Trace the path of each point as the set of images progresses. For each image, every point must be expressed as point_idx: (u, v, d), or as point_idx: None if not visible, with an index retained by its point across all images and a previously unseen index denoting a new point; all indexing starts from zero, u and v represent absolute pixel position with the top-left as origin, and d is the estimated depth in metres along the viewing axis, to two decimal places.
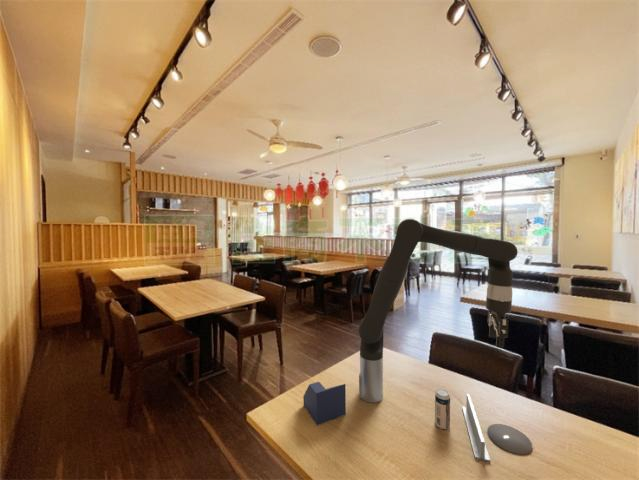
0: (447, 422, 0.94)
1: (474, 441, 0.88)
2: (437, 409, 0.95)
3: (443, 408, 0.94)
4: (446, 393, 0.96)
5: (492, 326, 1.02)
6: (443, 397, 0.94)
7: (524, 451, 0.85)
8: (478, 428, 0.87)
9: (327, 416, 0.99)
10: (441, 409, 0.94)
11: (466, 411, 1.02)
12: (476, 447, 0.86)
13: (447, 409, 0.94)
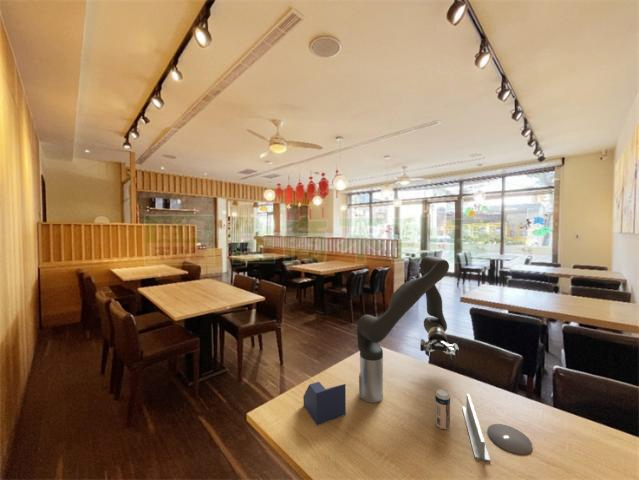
0: (447, 422, 0.94)
1: (474, 441, 0.88)
2: (437, 409, 0.95)
3: (443, 408, 0.94)
4: (446, 393, 0.96)
5: None
6: (442, 397, 0.94)
7: (524, 451, 0.85)
8: (478, 428, 0.87)
9: (327, 416, 0.99)
10: (441, 409, 0.94)
11: (466, 411, 1.02)
12: (476, 447, 0.86)
13: (447, 409, 0.94)
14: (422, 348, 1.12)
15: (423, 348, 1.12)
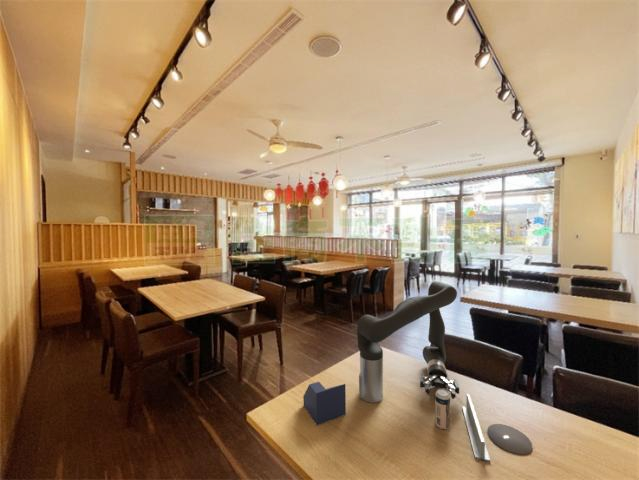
0: (447, 422, 0.94)
1: (474, 441, 0.88)
2: (437, 409, 0.95)
3: (443, 408, 0.94)
4: (446, 393, 0.96)
5: None
6: (442, 397, 0.94)
7: (524, 451, 0.85)
8: (478, 428, 0.87)
9: (327, 416, 0.99)
10: (441, 409, 0.94)
11: (466, 411, 1.02)
12: (476, 447, 0.86)
13: (447, 409, 0.94)
14: (422, 385, 1.10)
15: (423, 385, 1.09)
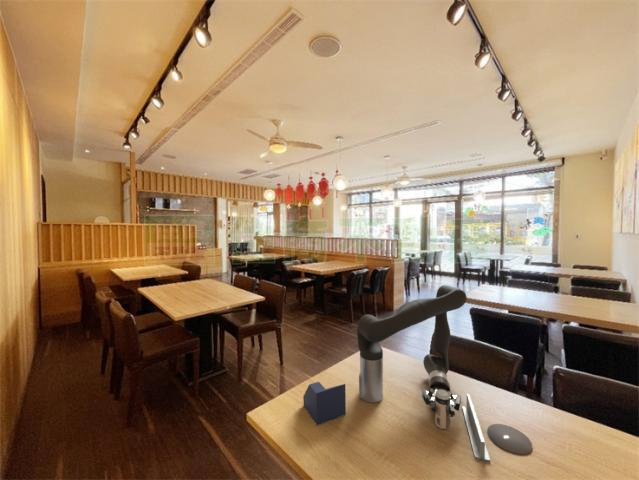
0: (447, 422, 0.94)
1: (474, 441, 0.88)
2: (437, 409, 0.95)
3: (443, 408, 0.94)
4: (446, 393, 0.96)
5: None
6: (442, 397, 0.94)
7: (524, 451, 0.85)
8: (478, 428, 0.87)
9: (327, 416, 0.99)
10: (441, 409, 0.94)
11: (466, 411, 1.02)
12: (476, 447, 0.86)
13: (447, 409, 0.94)
14: (427, 402, 0.99)
15: (428, 402, 0.99)
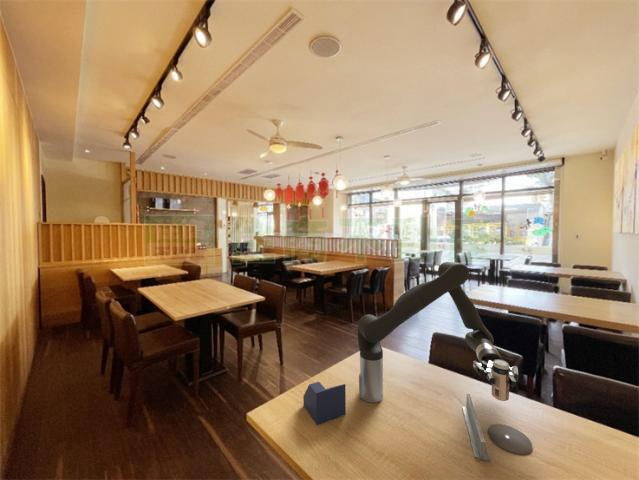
0: (507, 393, 0.88)
1: (474, 441, 0.88)
2: (495, 380, 0.89)
3: (503, 378, 0.88)
4: (505, 363, 0.89)
5: None
6: (502, 367, 0.88)
7: (524, 451, 0.85)
8: (478, 428, 0.87)
9: (327, 416, 0.99)
10: (501, 379, 0.88)
11: (466, 411, 1.02)
12: (476, 447, 0.86)
13: (507, 379, 0.88)
14: (483, 373, 0.93)
15: (484, 373, 0.93)
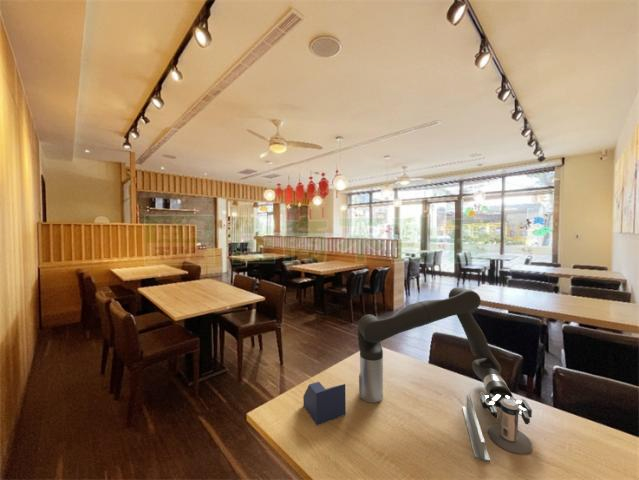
0: (515, 434, 0.88)
1: (474, 441, 0.88)
2: (504, 419, 0.89)
3: (512, 419, 0.88)
4: (514, 402, 0.89)
5: None
6: (511, 407, 0.88)
7: (524, 451, 0.85)
8: (478, 428, 0.87)
9: (327, 416, 0.99)
10: (510, 419, 0.88)
11: (466, 411, 1.02)
12: (476, 447, 0.86)
13: (516, 420, 0.88)
14: (485, 406, 0.94)
15: (487, 406, 0.94)
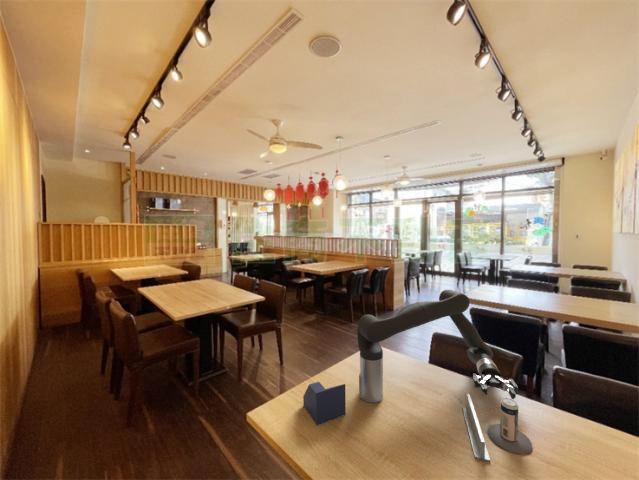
0: (515, 434, 0.88)
1: (474, 441, 0.88)
2: (504, 420, 0.89)
3: (511, 419, 0.88)
4: (513, 402, 0.89)
5: None
6: (511, 407, 0.88)
7: (524, 451, 0.85)
8: (478, 428, 0.87)
9: (327, 416, 0.99)
10: (509, 419, 0.88)
11: (466, 411, 1.02)
12: (476, 447, 0.86)
13: (516, 420, 0.88)
14: (477, 384, 1.06)
15: (478, 384, 1.06)
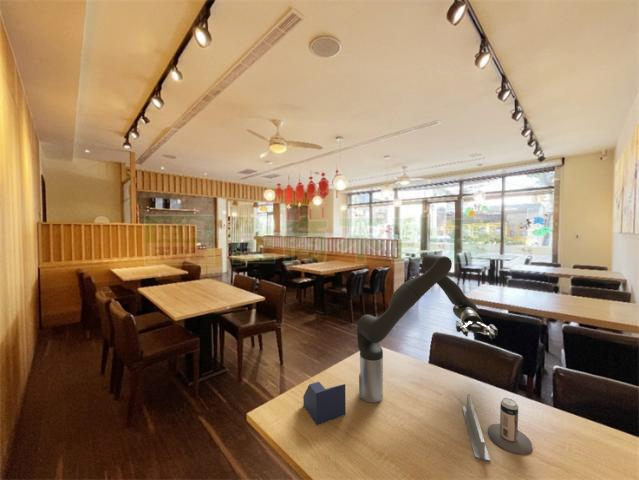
0: (515, 434, 0.88)
1: (474, 441, 0.88)
2: (504, 420, 0.89)
3: (511, 419, 0.88)
4: (513, 402, 0.89)
5: None
6: (511, 407, 0.88)
7: (524, 451, 0.85)
8: (478, 428, 0.87)
9: (327, 416, 0.99)
10: (509, 419, 0.88)
11: (466, 411, 1.02)
12: (476, 447, 0.86)
13: (516, 420, 0.88)
14: (459, 329, 1.11)
15: (460, 329, 1.10)
